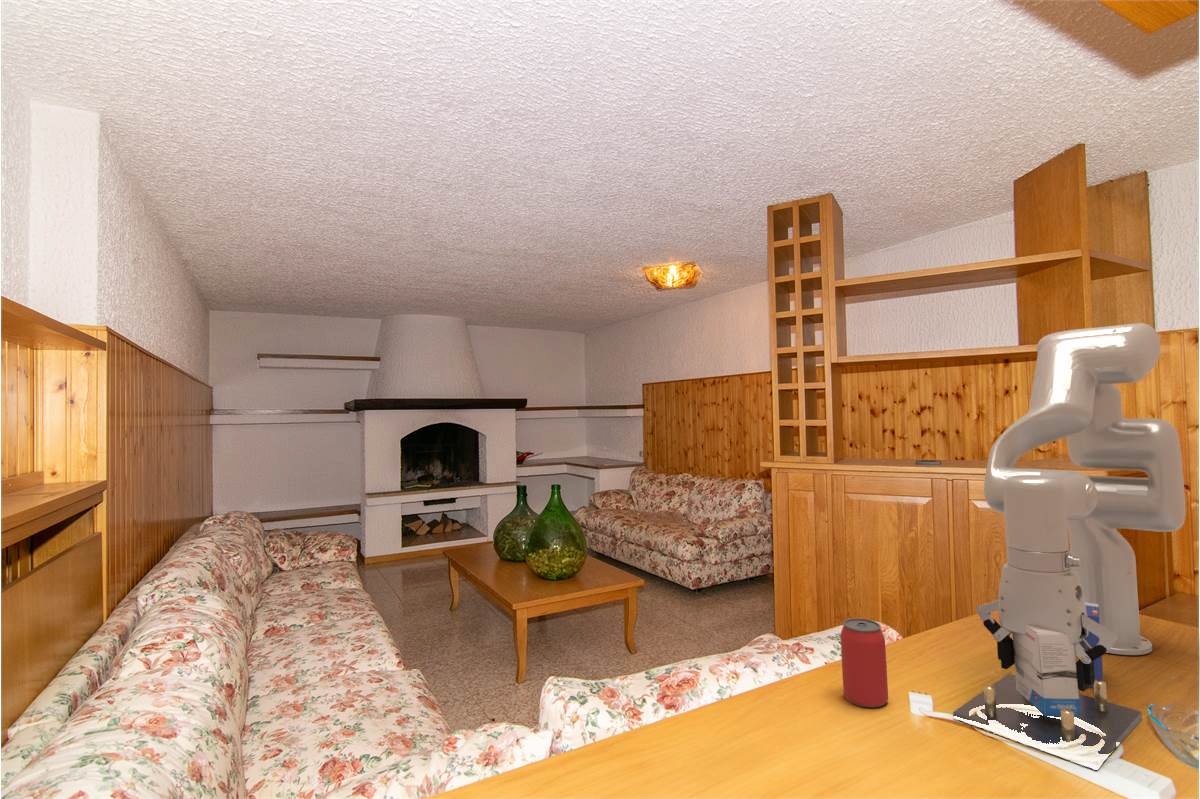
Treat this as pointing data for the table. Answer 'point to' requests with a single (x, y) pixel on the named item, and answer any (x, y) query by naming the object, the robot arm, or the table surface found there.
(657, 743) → the table surface
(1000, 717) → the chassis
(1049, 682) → the ink box
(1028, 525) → the robot arm
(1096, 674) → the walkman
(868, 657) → the beer can
